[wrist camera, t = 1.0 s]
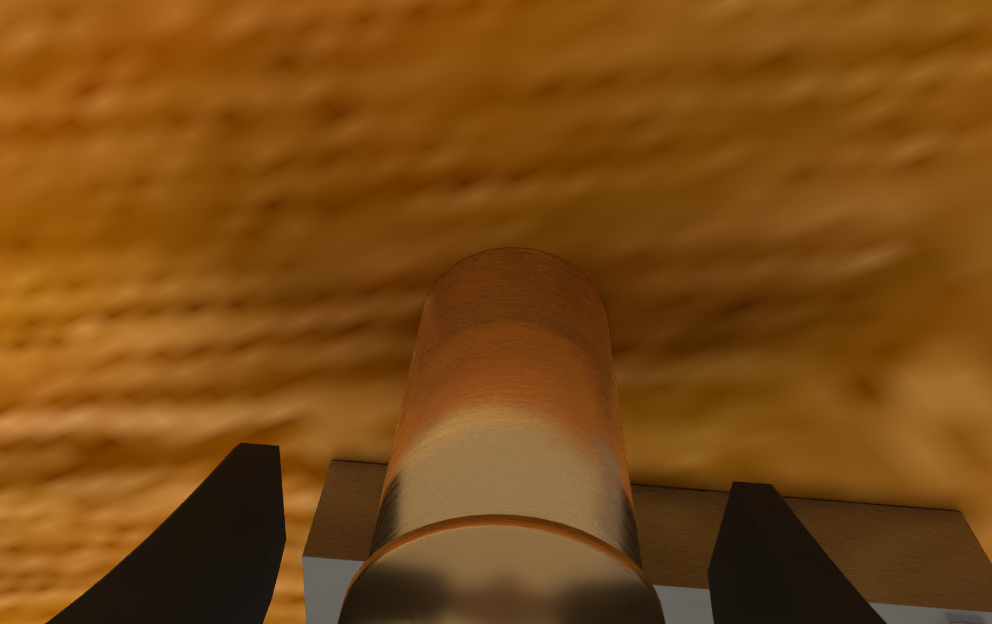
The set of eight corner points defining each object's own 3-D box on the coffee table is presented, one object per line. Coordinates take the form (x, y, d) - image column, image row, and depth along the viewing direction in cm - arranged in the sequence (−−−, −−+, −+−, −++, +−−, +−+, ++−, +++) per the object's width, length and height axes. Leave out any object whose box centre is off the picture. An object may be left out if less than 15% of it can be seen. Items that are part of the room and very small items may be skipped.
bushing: (632, 247, 17) (697, 547, 10) (602, 421, 19) (639, 762, 12) (413, 230, 17) (332, 518, 10) (409, 405, 19) (340, 737, 12)
